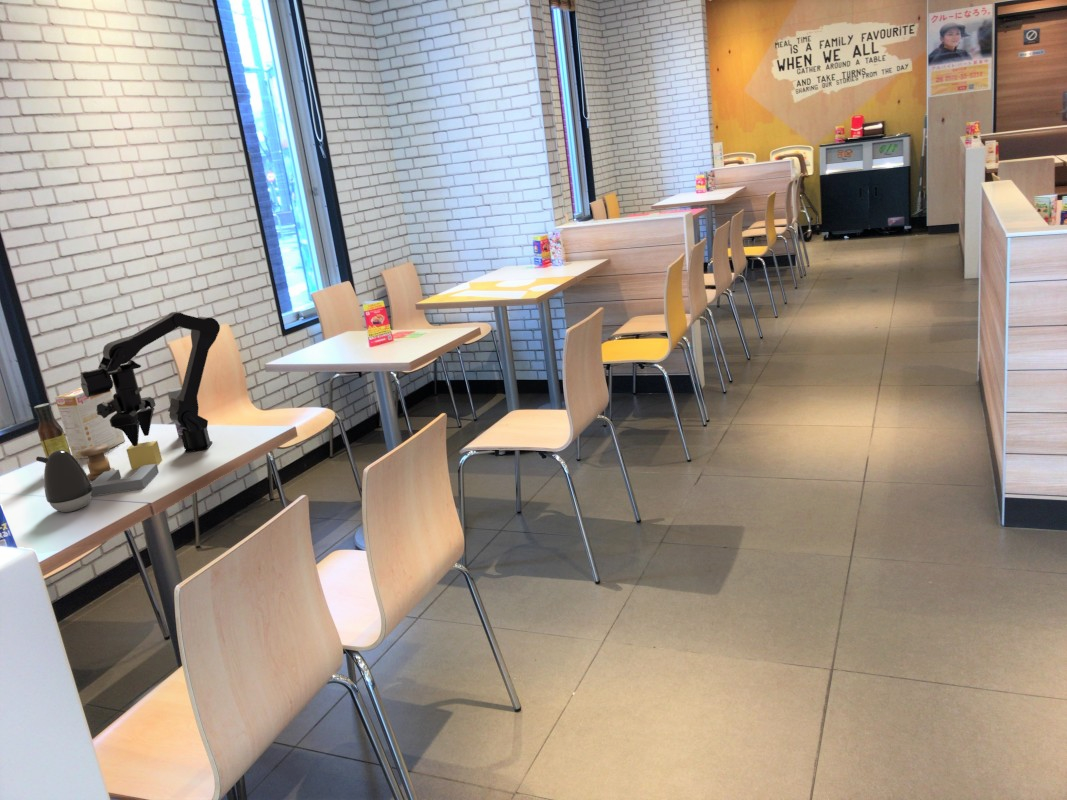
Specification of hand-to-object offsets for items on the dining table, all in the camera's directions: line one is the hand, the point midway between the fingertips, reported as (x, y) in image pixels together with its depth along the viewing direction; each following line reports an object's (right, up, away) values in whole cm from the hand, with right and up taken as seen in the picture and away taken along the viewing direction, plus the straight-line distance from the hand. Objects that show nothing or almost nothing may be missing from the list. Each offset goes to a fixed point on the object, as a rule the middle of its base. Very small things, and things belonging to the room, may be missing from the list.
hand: (141, 440), depth 235 cm
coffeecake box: (-24, -4, +23) cm, 33 cm away
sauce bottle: (-26, -9, +7) cm, 28 cm away
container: (+2, 0, +26) cm, 26 cm away
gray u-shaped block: (+2, -11, -13) cm, 17 cm away
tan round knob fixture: (-10, -10, -3) cm, 14 cm away
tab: (+1, -7, +2) cm, 7 cm away
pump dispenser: (-5, -16, -26) cm, 30 cm away
